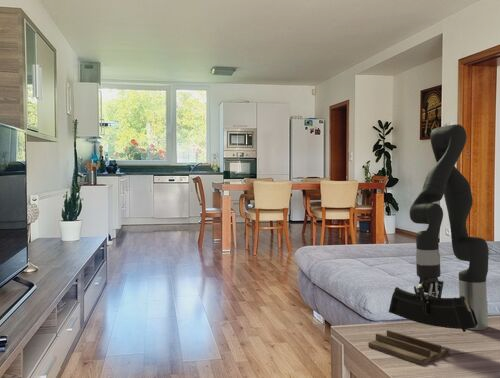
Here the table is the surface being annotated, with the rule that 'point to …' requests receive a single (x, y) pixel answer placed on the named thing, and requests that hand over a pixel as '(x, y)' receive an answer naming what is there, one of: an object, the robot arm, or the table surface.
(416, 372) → the table surface
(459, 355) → the table surface
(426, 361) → the stand
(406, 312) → the magazine
